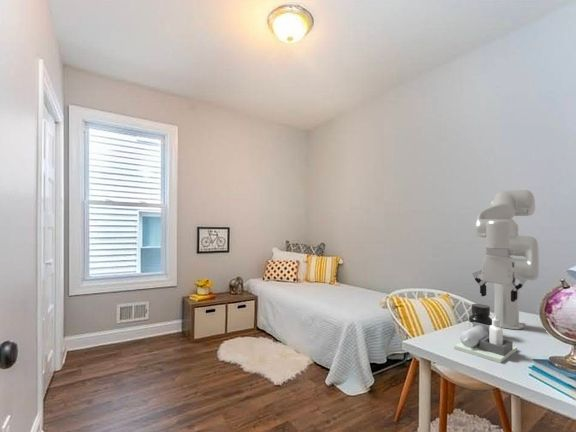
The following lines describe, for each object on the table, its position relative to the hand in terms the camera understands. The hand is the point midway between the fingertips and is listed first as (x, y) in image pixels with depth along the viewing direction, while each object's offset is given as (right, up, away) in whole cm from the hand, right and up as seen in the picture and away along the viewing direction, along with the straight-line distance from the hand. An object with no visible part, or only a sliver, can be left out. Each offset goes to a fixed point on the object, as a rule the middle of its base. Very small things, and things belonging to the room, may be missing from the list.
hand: (498, 298), depth 118 cm
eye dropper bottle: (-2, -18, -2) cm, 18 cm away
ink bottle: (+4, -20, +18) cm, 27 cm away
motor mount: (-4, -19, 0) cm, 20 cm away
